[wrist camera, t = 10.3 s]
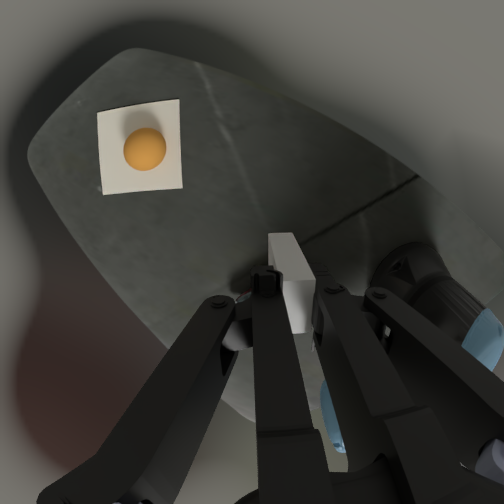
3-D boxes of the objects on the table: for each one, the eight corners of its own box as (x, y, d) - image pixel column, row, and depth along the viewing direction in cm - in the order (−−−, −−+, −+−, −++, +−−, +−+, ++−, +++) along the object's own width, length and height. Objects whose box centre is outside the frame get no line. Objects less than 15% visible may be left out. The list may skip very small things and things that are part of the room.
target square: (179, 99, 31) (179, 99, 31) (182, 187, 36) (182, 188, 36) (98, 112, 31) (97, 112, 31) (103, 194, 36) (103, 194, 35)
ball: (112, 135, 28) (131, 130, 32) (120, 178, 30) (137, 169, 35) (153, 124, 27) (169, 122, 32) (161, 171, 30) (174, 162, 35)
